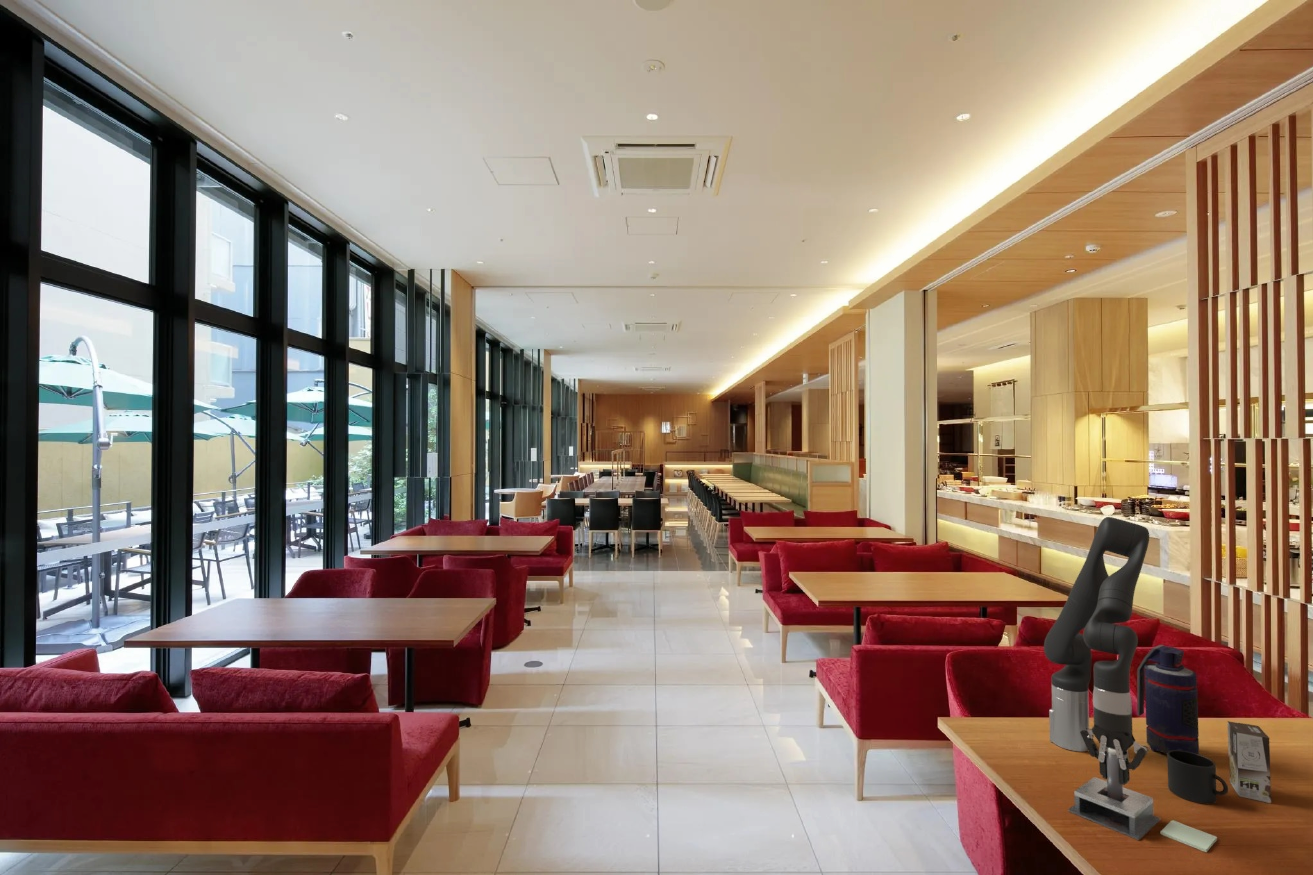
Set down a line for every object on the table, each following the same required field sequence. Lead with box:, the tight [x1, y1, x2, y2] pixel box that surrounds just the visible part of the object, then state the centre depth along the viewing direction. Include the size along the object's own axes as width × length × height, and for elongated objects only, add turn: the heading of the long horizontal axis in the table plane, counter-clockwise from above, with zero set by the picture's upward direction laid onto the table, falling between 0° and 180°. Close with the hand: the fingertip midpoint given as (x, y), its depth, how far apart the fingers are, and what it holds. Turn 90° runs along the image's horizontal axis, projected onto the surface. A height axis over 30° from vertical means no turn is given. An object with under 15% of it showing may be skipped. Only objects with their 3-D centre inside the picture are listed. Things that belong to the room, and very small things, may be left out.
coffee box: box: [1227, 720, 1272, 804], centre depth 159 cm, size 9×6×16 cm
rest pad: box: [1160, 820, 1218, 853], centre depth 139 cm, size 8×8×1 cm
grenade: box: [1136, 644, 1200, 755], centre depth 183 cm, size 14×12×30 cm
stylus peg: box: [1106, 747, 1124, 801], centre depth 148 cm, size 3×3×12 cm
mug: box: [1166, 750, 1229, 805], centre depth 157 cm, size 9×12×9 cm
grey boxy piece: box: [1068, 776, 1161, 841], centre depth 148 cm, size 14×14×5 cm
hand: (1114, 780), depth 148 cm, fingers closed on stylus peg, 3 cm apart
